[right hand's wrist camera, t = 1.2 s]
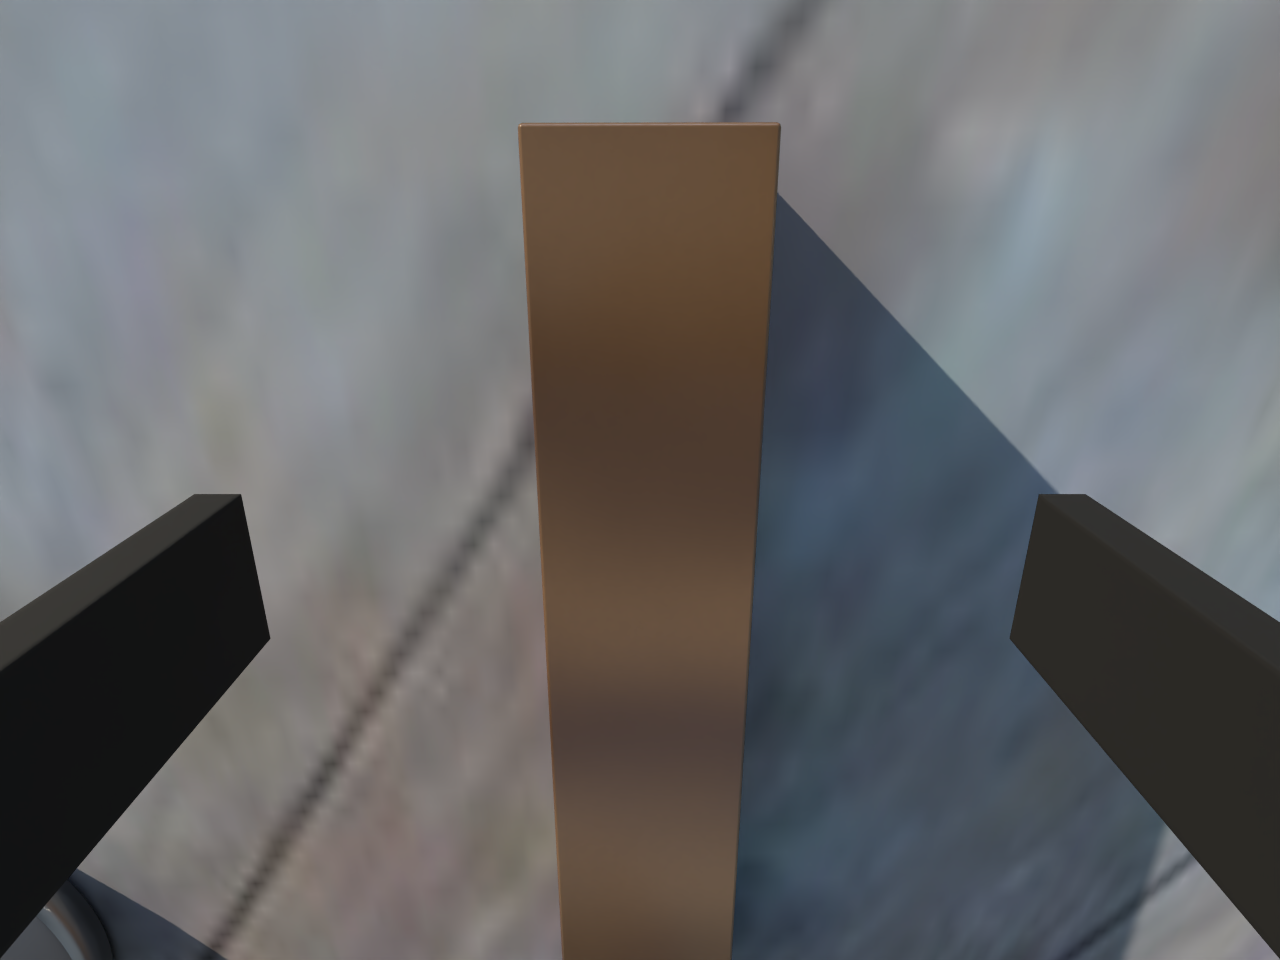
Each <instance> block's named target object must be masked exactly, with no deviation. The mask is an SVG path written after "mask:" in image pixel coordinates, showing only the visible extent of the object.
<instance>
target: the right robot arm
mask: <svg viewBox="0 0 1280 960" xmlns="http://www.w3.org/2000/svg"><path fill="white" fill-rule="evenodd" d="M269 640H270V634H269V629H268V624H267V620H266V615H265V610H264V605H263V600H262V595H261V590H260V585H259V580H258V575H257V570H256V565H255V560H254V556H253V551H252V546H251V541H250V536H249V531H248V526H247V521H246V516H245V511H244V506H243V501H242V497H241V494H194V495H193V496H191V497H190V498H188V499H187V500H185V501H184V502H182V503H181V504H179V505H177V506H176V507H174V508H173V509H171V510H170V511H168V512H167V513H165V514H164V515H162V516H161V517H159V518H158V519H156V520H155V521H153V522H152V523H150V524H149V525H147V526H146V527H144V528H143V529H141V530H140V531H138V532H137V533H135V534H134V535H132V536H130V537H129V538H127V539H126V540H124V541H123V542H121V543H120V544H118V545H117V546H115V547H114V548H112V549H111V550H109V551H108V552H106V553H105V554H103V555H102V556H100V557H99V558H97V559H96V560H94V561H93V562H91V563H90V564H88V565H86V566H85V567H83V568H82V569H80V570H79V571H77V572H76V573H74V574H73V575H71V576H70V577H68V578H67V579H65V580H64V581H62V582H61V583H59V584H58V585H56V586H55V587H53V588H52V589H50V590H49V591H47V592H46V593H44V594H43V595H41V596H39V597H38V598H36V599H35V600H33V601H32V602H30V603H29V604H27V605H26V606H24V607H23V608H21V609H20V610H18V611H17V612H15V613H14V614H12V615H11V616H9V617H8V618H6V619H5V620H3V621H2V622H0V958H1V957H2V956H3V955H4V954H5V953H6V951H7V950H8V949H9V948H10V947H11V945H12V944H13V943H14V942H15V941H16V939H17V938H18V937H19V936H20V935H21V934H22V932H23V931H24V930H25V929H26V928H27V926H28V925H29V924H30V923H31V922H32V921H33V919H34V918H35V917H36V916H37V915H38V913H39V912H40V911H41V910H42V909H43V907H44V906H45V905H46V904H47V903H48V902H49V900H50V899H51V898H52V897H53V896H54V894H55V893H56V892H57V891H58V890H59V889H60V887H61V886H62V885H63V884H64V883H65V881H66V880H67V879H68V878H69V877H70V875H71V874H72V873H73V872H74V871H75V870H76V868H77V867H78V866H79V865H80V864H81V862H82V861H83V860H84V859H85V858H86V857H87V855H88V854H89V853H90V852H91V851H92V849H93V848H94V847H95V846H96V845H97V843H98V842H99V841H100V840H101V839H102V838H103V836H104V835H105V834H106V833H107V832H108V830H109V829H110V828H111V827H112V826H113V825H114V823H115V822H116V821H117V820H118V819H119V817H120V816H121V815H122V814H123V813H124V811H125V810H126V809H127V808H128V807H129V806H130V804H131V803H132V802H133V801H134V800H135V798H136V797H137V796H138V795H139V794H140V793H141V791H142V790H143V789H144V788H145V787H146V785H147V784H148V783H149V782H150V781H151V779H152V778H153V777H154V776H155V775H156V774H157V772H158V771H159V770H160V769H161V768H162V766H163V765H164V764H165V763H166V762H167V761H168V759H169V758H170V757H171V756H172V755H173V753H174V752H175V751H176V750H177V749H178V747H179V746H180V745H181V744H182V743H183V742H184V740H185V739H186V738H187V737H188V736H189V734H190V733H191V732H192V731H193V730H194V729H195V727H196V726H197V725H198V724H199V723H200V721H201V720H202V719H203V718H204V717H205V715H206V714H207V713H208V712H209V711H210V710H211V708H212V707H213V706H214V705H215V704H216V702H217V701H218V700H219V699H220V698H221V697H222V695H223V694H224V693H225V692H226V691H227V689H228V688H229V687H230V686H231V685H232V683H233V682H234V681H235V680H236V679H237V678H238V676H239V675H240V674H241V673H242V672H243V670H244V669H245V668H246V667H247V666H248V665H249V663H250V662H251V661H252V660H253V659H254V657H255V656H256V655H257V654H258V653H259V651H260V650H261V649H262V648H263V647H264V646H265V644H266V643H267V642H268V641H269ZM1010 640H1011V641H1012V642H1013V643H1014V644H1015V646H1016V647H1017V648H1018V649H1019V650H1020V651H1021V653H1022V654H1023V655H1024V656H1025V657H1026V659H1027V660H1028V661H1029V662H1030V663H1031V665H1032V666H1033V667H1034V668H1035V669H1036V670H1037V672H1038V673H1039V674H1040V675H1041V676H1042V678H1043V679H1044V680H1045V681H1046V682H1047V683H1048V685H1049V686H1050V687H1051V688H1052V689H1053V691H1054V692H1055V693H1056V694H1057V695H1058V697H1059V698H1060V699H1061V700H1062V701H1063V702H1064V704H1065V705H1066V706H1067V707H1068V708H1069V710H1070V711H1071V712H1072V713H1073V714H1074V715H1075V717H1076V718H1077V719H1078V720H1079V721H1080V723H1081V724H1082V725H1083V726H1084V727H1085V729H1086V730H1087V731H1088V732H1089V733H1090V734H1091V736H1092V737H1093V738H1094V739H1095V740H1096V742H1097V743H1098V744H1099V745H1100V746H1101V747H1102V749H1103V750H1104V751H1105V752H1106V753H1107V755H1108V756H1109V757H1110V758H1111V759H1112V761H1113V762H1114V763H1115V764H1116V765H1117V766H1118V768H1119V769H1120V770H1121V771H1122V772H1123V774H1124V775H1125V776H1126V777H1127V778H1128V779H1129V781H1130V782H1131V783H1132V784H1133V785H1134V787H1135V788H1136V789H1137V790H1138V791H1139V793H1140V794H1141V795H1142V796H1143V797H1144V798H1145V800H1146V801H1147V802H1148V803H1149V804H1150V806H1151V807H1152V808H1153V809H1154V810H1155V811H1156V813H1157V814H1158V815H1159V816H1160V817H1161V819H1162V820H1163V821H1164V822H1165V823H1166V825H1167V826H1168V827H1169V828H1170V829H1171V830H1172V832H1173V833H1174V834H1175V835H1176V836H1177V838H1178V839H1179V840H1180V841H1181V842H1182V843H1183V845H1184V846H1185V847H1186V848H1187V849H1188V851H1189V852H1190V853H1191V854H1192V855H1193V857H1194V858H1195V859H1196V860H1197V861H1198V862H1199V864H1200V865H1201V866H1202V867H1203V868H1204V870H1205V871H1206V872H1207V873H1208V874H1209V875H1210V877H1211V878H1212V879H1213V880H1214V881H1215V883H1216V884H1217V885H1218V886H1219V887H1220V889H1221V890H1222V891H1223V892H1224V893H1225V894H1226V896H1227V897H1228V898H1229V899H1230V900H1231V902H1232V903H1233V904H1234V905H1235V906H1236V907H1237V909H1238V910H1239V911H1240V912H1241V913H1242V915H1243V916H1244V917H1245V918H1246V919H1247V921H1248V922H1249V923H1250V924H1251V925H1252V926H1253V928H1254V929H1255V930H1256V931H1257V932H1258V934H1259V935H1260V936H1261V937H1262V938H1263V939H1264V941H1265V942H1266V943H1267V944H1268V945H1269V947H1270V948H1271V949H1272V950H1273V951H1274V953H1275V954H1276V955H1277V956H1278V957H1279V958H1280V622H1278V621H1277V620H1275V619H1274V618H1272V617H1271V616H1269V615H1268V614H1266V613H1265V612H1263V611H1262V610H1260V609H1259V608H1257V607H1256V606H1254V605H1253V604H1251V603H1250V602H1248V601H1247V600H1245V599H1244V598H1242V597H1241V596H1239V595H1237V594H1236V593H1234V592H1233V591H1231V590H1230V589H1228V588H1227V587H1225V586H1224V585H1222V584H1221V583H1219V582H1218V581H1216V580H1215V579H1213V578H1212V577H1210V576H1209V575H1207V574H1206V573H1204V572H1203V571H1201V570H1200V569H1198V568H1197V567H1195V566H1193V565H1192V564H1190V563H1189V562H1187V561H1186V560H1184V559H1183V558H1181V557H1180V556H1178V555H1177V554H1175V553H1174V552H1172V551H1171V550H1169V549H1168V548H1166V547H1165V546H1163V545H1162V544H1160V543H1159V542H1157V541H1156V540H1154V539H1153V538H1151V537H1150V536H1148V535H1146V534H1145V533H1143V532H1142V531H1140V530H1139V529H1137V528H1136V527H1134V526H1133V525H1131V524H1130V523H1128V522H1127V521H1125V520H1124V519H1122V518H1121V517H1119V516H1118V515H1116V514H1115V513H1113V512H1112V511H1110V510H1109V509H1107V508H1106V507H1104V506H1103V505H1101V504H1099V503H1098V502H1096V501H1095V500H1093V499H1092V498H1090V497H1089V496H1087V495H1086V494H1039V497H1038V501H1037V506H1036V511H1035V516H1034V521H1033V526H1032V531H1031V536H1030V541H1029V546H1028V551H1027V556H1026V560H1025V565H1024V570H1023V575H1022V580H1021V585H1020V590H1019V595H1018V600H1017V605H1016V610H1015V615H1014V620H1013V624H1012V629H1011V634H1010Z"/></svg>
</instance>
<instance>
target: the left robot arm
mask: <svg viewBox="0 0 1280 960" xmlns="http://www.w3.org/2000/svg"><path fill="white" fill-rule="evenodd" d="M0 960H113V957H112V952H111V947H110V944H109V941H108V938H107V935H106V932H105V930H104V928H103V926H102V924H101V922H100V920H99V919H98V917H97V915H96V914H95V912H94V911H93V909H92V908H91V906H90V905H89V904H88V902H87V901H86V900H85V898H84V897H83V896H82V895H81V894H80V893H79V892H78V890H77V889H76V888H75V887H74V886H73V885H72V884H71V883H70V882H69V881H68V880H66V881H65V883H64V884H63V885H62V886H61V887H60V889H59V890H58V891H57V892H56V893H55V894H54V896H53V897H52V898H51V899H50V900H49V902H48V903H47V904H46V905H45V906H44V907H43V909H42V910H41V911H40V912H39V913H38V915H37V916H36V917H35V918H34V919H33V921H32V922H31V923H30V924H29V925H28V926H27V928H26V929H25V930H24V931H23V932H22V934H21V935H20V936H19V937H18V938H17V939H16V941H15V942H14V943H13V944H12V945H11V947H10V948H9V949H8V950H7V951H6V953H5V954H4V955H3V956H2V957H1V958H0Z"/></svg>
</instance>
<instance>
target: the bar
mask: <svg viewBox="0 0 1280 960" xmlns="http://www.w3.org/2000/svg"><path fill="white" fill-rule="evenodd" d="M780 136H781V125H780V124H779V123H777V122H747V123H521V124H519V126H518V138H519V157H520V176H521V194H522V213H523V232H524V250H525V269H526V288H527V306H528V325H529V344H530V362H531V381H532V400H533V418H534V437H535V456H536V474H537V493H538V512H539V530H540V549H541V568H542V586H543V605H544V624H545V642H546V661H547V680H548V698H549V717H550V736H551V754H552V773H553V792H554V810H555V829H556V848H557V866H558V885H559V904H560V922H561V941H562V960H732V943H733V926H734V910H735V893H736V876H737V859H738V842H739V826H740V809H741V792H742V775H743V758H744V742H745V725H746V708H747V691H748V674H749V657H750V641H751V624H752V607H753V590H754V573H755V557H756V540H757V523H758V506H759V489H760V472H761V456H762V439H763V422H764V405H765V388H766V372H767V355H768V338H769V321H770V304H771V288H772V271H773V254H774V237H775V220H776V203H777V187H778V170H779V153H780Z"/></svg>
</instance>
